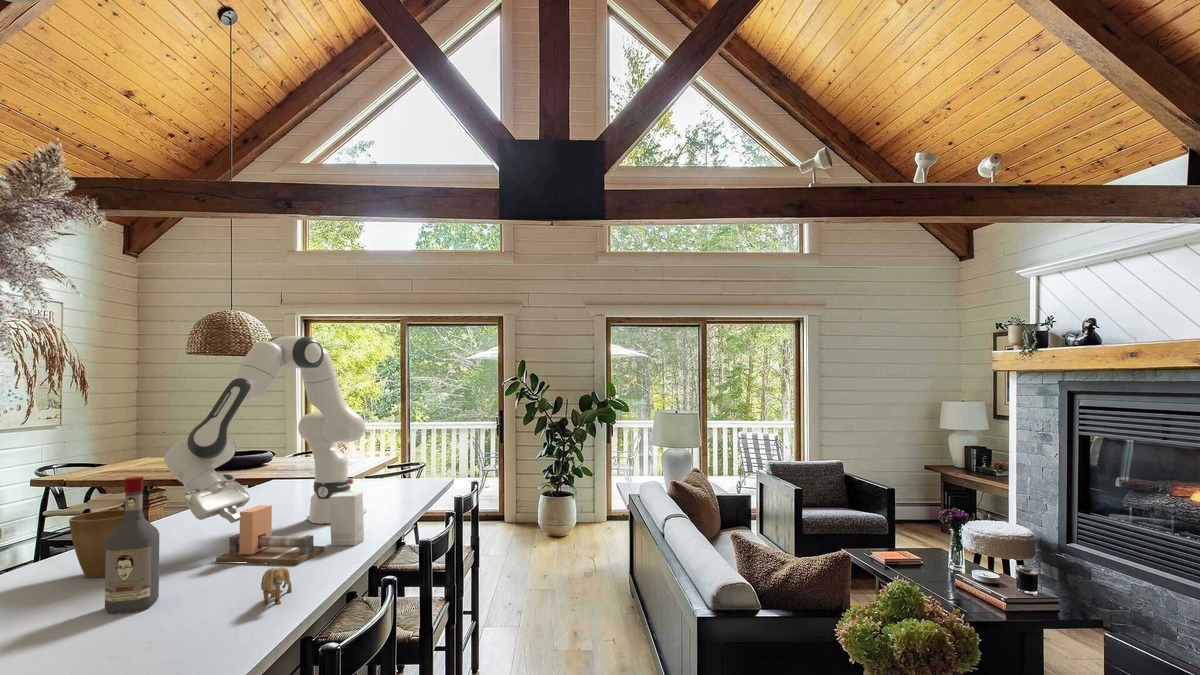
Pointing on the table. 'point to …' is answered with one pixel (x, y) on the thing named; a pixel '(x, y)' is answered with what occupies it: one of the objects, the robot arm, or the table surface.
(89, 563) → the plant pot
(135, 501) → the liquor
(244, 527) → the notched orange block
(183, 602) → the table surface
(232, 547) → the pipe stand
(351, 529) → the skincare box
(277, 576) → the lion figurine
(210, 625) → the table surface
